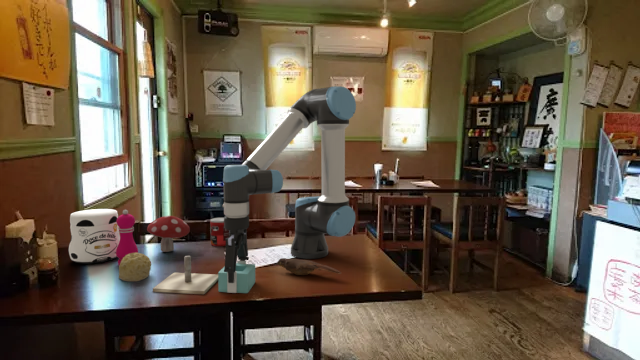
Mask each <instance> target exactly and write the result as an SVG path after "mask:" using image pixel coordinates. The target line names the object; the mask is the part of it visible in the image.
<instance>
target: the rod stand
mask: <svg viewBox="0 0 640 360" xmlns="http://www.w3.org/2000/svg"><path fill="white" fill-rule="evenodd" d="M183 260H184V263H183V264H184V266H183V267H184V272H173V273H172V274H170V275H169V276H167V277H166V278H165V279H163V280H162V281H160V282H159V283H158V284H157V285H155V286H154V287H152V292H154V293H174V294H175V293H176V294H188V295H189V294H190V295H193V294H194V295H205V294H206V293H207V292H209V290H210V289H211V288H212V287H213V286H215V284H216V283H218V274H216V273H215V274H214V273H213V274H210V273H195V272H194V273H192V256H191V255H185V256H184V257H183Z"/></svg>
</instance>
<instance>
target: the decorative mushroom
mask: <svg viewBox="0 0 640 360" xmlns="http://www.w3.org/2000/svg"><path fill="white" fill-rule="evenodd" d="M190 229H191V228H190V225H188V223H187V222H185V220H183V219H182V218H179V217H177V216H175V215H164V216H161V217H158V218H155V219H154V220H153V221H152V222H150V223H149V224H147V228H146V230H147V232H148V233H150V235H152V236H155V237H159V238H161V241H160V251H161V252H164V253H168V252H172V251H174V250H175V246H174V245H175V244H174V240H173V239H177V238H178V239H179V238H183V237H185V236H187V235H188V234H189V233H190Z"/></svg>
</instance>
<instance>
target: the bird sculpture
mask: <svg viewBox="0 0 640 360" xmlns="http://www.w3.org/2000/svg"><path fill="white" fill-rule="evenodd" d="M272 266H273V267H274V266H280V267H282V268H284V269H285V271H288V272H290V273H291V274H295V275H296V276H305V275H309V274H310V273H312V272H314V271H315V270H319V271H327V272H329V273H334V274H338V275H341V274H342V272H341V270H338V269H336V268H334V267H331V266H329V265H324V264H323V263H319V262H316V261H313V260H310V259H300V258H287V257H286V258H285V257H281V258H279V259H278V260H277V262H276V263H274V264H273V265H272Z"/></svg>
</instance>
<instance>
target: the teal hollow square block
mask: <svg viewBox="0 0 640 360" xmlns="http://www.w3.org/2000/svg"><path fill="white" fill-rule="evenodd" d="M224 268H225V265H224V266H223V267H222V268H221V269H220V270H219V271H218V273H217V275H218V281H217V285H218V286H217V287H218V292H219V293H227V272H224ZM236 271H237V294H238V293H239V294H249V292H250V291H251V290H252V287H253V286H254V285H255V283H256V264H254V263H246V264H239V263H236Z"/></svg>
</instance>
